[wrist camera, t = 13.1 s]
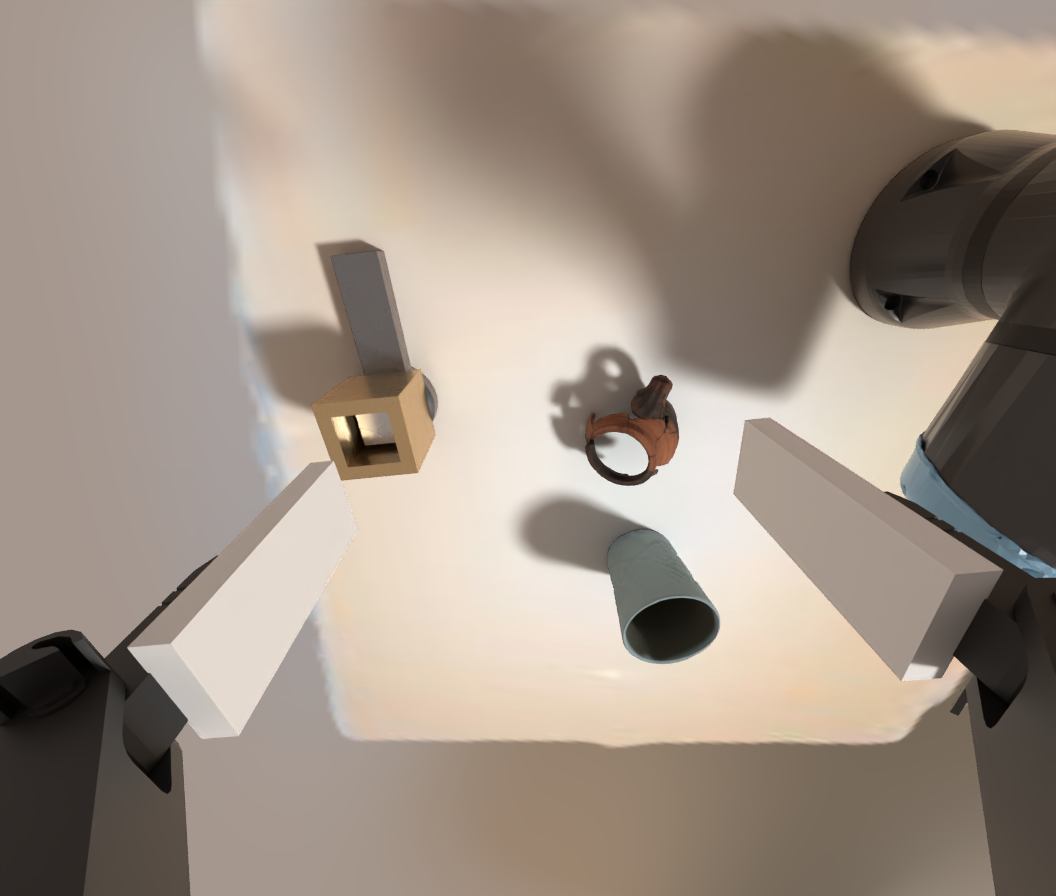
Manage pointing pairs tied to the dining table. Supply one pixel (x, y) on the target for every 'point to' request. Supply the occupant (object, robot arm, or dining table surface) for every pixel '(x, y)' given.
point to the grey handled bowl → (375, 330)
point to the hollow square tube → (375, 395)
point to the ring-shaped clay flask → (639, 431)
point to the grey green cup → (659, 600)
